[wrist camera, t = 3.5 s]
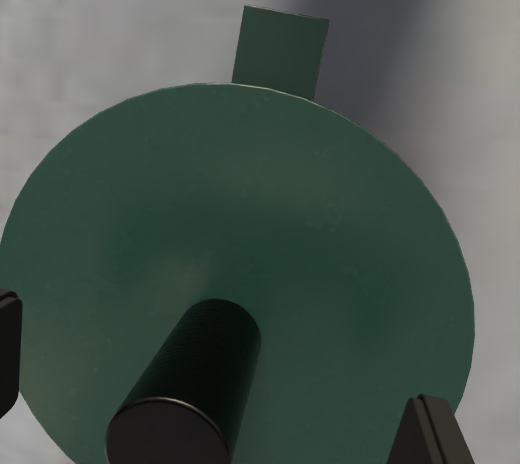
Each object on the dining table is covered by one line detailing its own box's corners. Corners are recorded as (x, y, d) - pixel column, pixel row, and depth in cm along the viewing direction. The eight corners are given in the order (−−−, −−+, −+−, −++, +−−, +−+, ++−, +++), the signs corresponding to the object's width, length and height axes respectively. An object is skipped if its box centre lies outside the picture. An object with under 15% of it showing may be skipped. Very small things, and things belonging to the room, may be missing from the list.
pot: (116, 372, 26) (9, 507, 17) (159, 27, 21) (39, -41, 12) (345, 430, 25) (360, 606, 16) (447, 83, 20) (552, 54, 11)
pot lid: (7, 448, 17) (-154, 618, 11) (28, 41, 13) (-202, -19, 7) (389, 551, 16) (429, 799, 10) (535, 142, 12) (735, 166, 6)
